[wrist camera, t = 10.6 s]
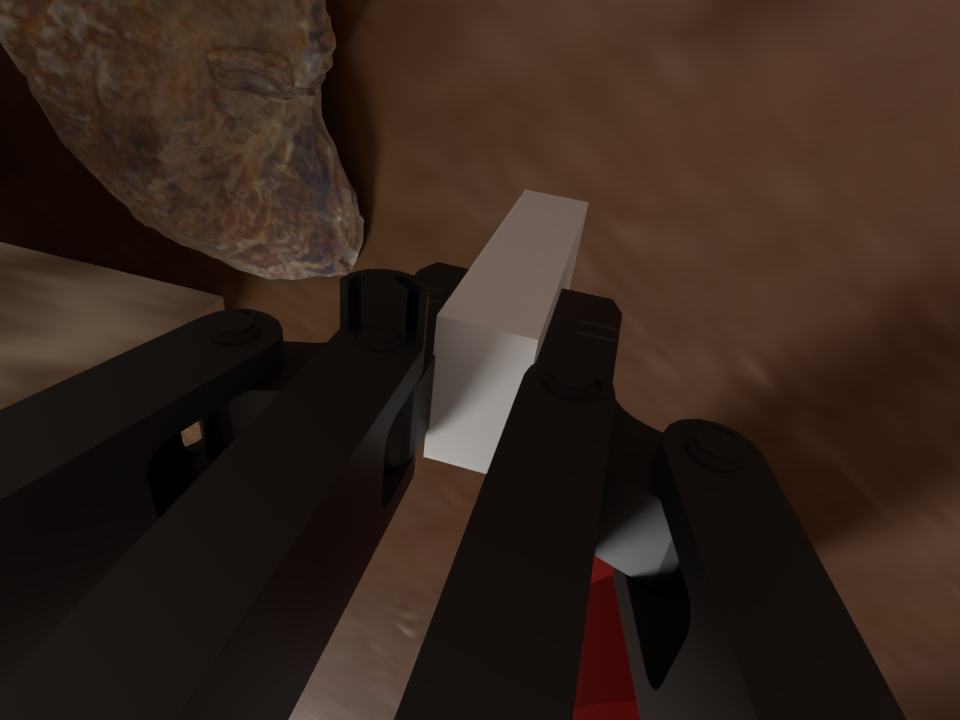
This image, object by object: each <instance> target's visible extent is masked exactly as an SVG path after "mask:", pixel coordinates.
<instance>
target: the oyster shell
mask: <svg viewBox="0 0 960 720" xmlns="http://www.w3.org/2000/svg"><path fill="white" fill-rule="evenodd" d="M0 42H1V44H2V46H3V47H4V49H5V50H6V52H7V53H8V55H9V56H10V58H11V59H12V61H13V62H14V63H15V65H16V66H17V68H18V69H19V71H20V72H21V73H22V74H24V75H25V76H26V79H27V83H28V86H29V89H30V92H31V94H32V95H33V96H34V98H35V99H36V100H37V101H38V103H39V105H40V106H41V108H42V110H43V111H44V113H45V115H46V116H47V118H48V120H49V121H50V123H51V125H52V126H53V128H54V130H55V132H56V134H57V135H58V137H59V139H60V140H61V141H62V143H63V144H64V145H65V146H66V147H67V148H68V149H69V150H70V152H71V153H72V154H73V155H74V156H75V157H76V158H77V159H78V160H79V161H80V163H81V164H82V165H83V166H84V167H85V168H86V169H87V170H88V171H89V172H90V173H91V174H92V175H94V176H95V177H96V178H97V179H98V180H99V181H100V182H101V184H102V185H103V186H104V187H105V188H106V189H107V190H108V191H109V192H110V193H111V194H112V195H113V196H114V197H115V198H116V199H118V200H119V201H120V202H121V203H123V204H124V205H126V206H127V208H128V210H129V211H130V212H131V214H132V215H133V216H134V218H135V219H136V220H138V221H139V222H141V223H142V224H144V225H145V226H147V227H152V228H155V229H156V230H157V231H158V232H159V233H160V234H162V235H163V236H165V237H167V238H169V239H172V240H173V241H175V242H177V243H178V244H180V245H183V246H186V247H189V248H191V249H194V250H197V251H200V252H202V253H204V254H206V255H207V256H209V257H211V258H217V259H219V260H221V261H222V262H224V263H226V264H228V265H229V266H231V267H233V268H235V269H237V270H240V271H244V272H247V273H251V274H255V275H257V276H260V277H263V278H265V279H288V280H296V279H305V278H310V277H315V276H325V277H331V276H336V275H347V274H349V273H350V272H351V269H352V268H353V266H354V264H355V263H356V261H357V259H358V258H357V257H358V254H359V251H360V249H361V246H362V243H363V226H364V219H363V218H362V216H361V215H360V213H359V208H358V204H357V196H356V193H355V191H354V190H353V188H352V186H351V184H350V182H349V180H348V178H347V176H346V174H345V172H344V170H343V167H342V165H341V162H340V160H339V157H338V153H337V149H336V146H335V144H334V142H333V140H332V138H331V137H330V135H329V133H328V131H327V128H326V126H325V123H324V120H323V118H322V108H321V84H322V83H323V81H324V79H325V78H326V72H327V71H328V70H330V68H331V67H332V65H333V58H332V53H333V52H334V50H335V48H336V39H335V34H334V31H333V30H332V28H331V17H330V16H329V14H328V13H327V11H326V2H325V0H0Z"/></svg>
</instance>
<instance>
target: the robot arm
mask: <svg viewBox="0 0 960 720" xmlns="http://www.w3.org/2000/svg"><path fill="white" fill-rule="evenodd" d="M588 204H589V202H584V201H579V200H574V199H569V198H564V197H559V196H555V195H550V194H545V193H540V192H535V191H530V190H525V191H524V192H523V194H522V195H521V196H520V198H519V199H518V201H517V202H516V204H515V205H514V206H513V208H512V209H511V211H510V212H509V214H508V215H507V216H506V218H505V219H504V221H503V222H502V223H501V225H500V226H499V228H498V229H497V231H496V232H495V233H494V235H493V236H492V238H491V239H490V241H489V242H488V243H487V245H486V246H485V248H484V249H483V251H482V252H481V253H480V255H479V256H478V258H477V259H476V261H475V262H474V263H473V265H472V266H471V268H470V269H466V268H461V267H457V266H453V265H448V264H444V263H439V262H437V263H434V264H432V265H430V266H427V267H425V268H422V269H420V270H419V271H418V272H417V273H416V274H415V275H414V276H413V275H410V274H407V273H404V272H401V271H396V270H388V269H365V270H361V271H357V272H352V273H350V274H348V275H346V276H344V277H343V278H341V279H340V329H339V330H338V331H337V332H336V333H335V334H334V336H333V337H332V338H331V339H330V340H329V341H328V342H327V343H307V342H288V341H283V329H282V327H281V325H280V323H279V321H278V320H277V319H275V318H274V317H272V316H271V315H269V314H266V313H263V312H259V311H256V310H251V309H243V308H234V309H230V310H223V311H217V312H214V313H211V314H208V315H205V316H202V317H200V318H197V319H195V320H193V321H191V322H189V323H187V324H184V325H182V326H180V327H178V328H176V329H174V330H171V331H169V332H167V333H165V334H163V335H161V336H159V337H156V338H154V339H152V340H150V341H148V342H146V343H143V344H141V345H139V346H137V347H135V348H133V349H130V350H128V351H126V352H124V353H122V354H120V355H118V356H115V357H113V358H111V359H109V360H107V361H105V362H102V363H100V364H98V365H96V366H94V367H92V368H89V369H87V370H85V371H83V372H81V373H79V374H76V375H74V376H72V377H70V378H68V379H66V380H64V381H61V382H59V383H57V384H55V385H53V386H51V387H48V388H46V389H44V390H42V391H40V392H38V393H35V394H33V395H31V396H29V397H27V398H25V399H23V400H20V401H18V402H16V403H14V404H12V405H10V406H7V407H5V408H3V409H1V410H0V720H288V719H289V717H290V715H291V713H292V711H293V709H294V707H295V705H296V703H297V702H298V700H299V698H300V696H301V694H302V692H303V690H304V688H305V686H306V684H307V682H308V680H309V678H310V676H311V674H312V672H313V670H314V669H315V667H316V665H317V663H318V661H319V659H320V657H321V655H322V653H323V651H324V649H325V647H326V645H327V643H328V641H329V639H330V637H331V635H332V634H333V632H334V630H335V628H336V626H337V624H338V622H339V620H340V618H341V616H342V614H343V612H344V610H345V608H346V606H347V604H348V602H349V601H350V599H351V597H352V595H353V593H354V591H355V589H356V587H357V585H358V583H359V581H360V579H361V577H362V575H363V573H364V571H365V569H366V567H367V566H368V564H369V562H370V560H371V558H372V556H373V554H374V552H375V550H376V548H377V546H378V544H379V542H380V540H381V538H382V536H383V534H384V533H385V531H386V529H387V527H388V525H389V523H390V521H391V519H392V517H393V515H394V513H395V511H396V509H397V507H398V505H399V503H400V501H401V499H402V498H403V496H404V494H405V492H406V490H407V488H408V486H409V484H410V482H411V480H412V478H413V474H414V469H415V460H416V451H417V449H418V447H419V446H420V444H421V442H422V440H423V438H424V436H425V434H426V437H425V447H424V457H427V458H431V459H434V460H438V461H442V462H445V463H449V464H452V465H456V466H460V467H463V468H467V469H470V470H474V471H478V472H481V473H485V474H486V476H485V479H484V482H483V484H482V487H481V490H480V492H479V495H478V498H477V500H476V503H475V506H474V508H473V511H472V514H471V516H470V519H469V522H468V524H467V527H466V530H465V532H464V535H463V538H462V540H461V543H460V546H459V548H458V551H457V553H456V556H455V559H454V561H453V564H452V567H451V569H450V572H449V575H448V577H447V580H446V583H445V585H444V588H443V591H442V593H441V596H440V599H439V601H438V604H437V607H436V609H435V612H434V615H433V617H432V620H431V623H430V625H429V628H428V631H427V633H426V636H425V639H424V641H423V644H422V646H421V649H420V652H419V654H418V657H417V660H416V662H415V665H414V668H413V670H412V673H411V676H410V678H409V681H408V684H407V686H406V689H405V692H404V694H403V697H402V700H401V702H400V705H399V708H398V710H397V713H396V716H395V718H394V720H573V714H574V706H575V699H576V691H577V684H578V676H579V668H580V661H581V653H582V646H583V638H584V631H585V623H586V616H587V608H588V600H589V593H590V585H591V578H592V570H593V563H594V555H595V556H596V557H598V558H600V559H601V560H603V561H605V562H606V563H608V564H610V565H611V566H613V567H614V571H613V579H614V585H615V590H616V595H617V601H618V606H619V611H620V616H621V622H622V627H623V632H624V637H625V643H626V648H627V653H628V658H629V664H630V669H631V674H632V679H633V685H634V690H635V695H636V701H637V706H638V711H639V716H640V720H906V718H905V716H904V714H903V712H902V711H901V709H900V707H899V705H898V703H897V701H896V700H895V698H894V696H893V694H892V692H891V690H890V688H889V687H888V685H887V683H886V681H885V679H884V677H883V676H882V674H881V672H880V670H879V668H878V666H877V664H876V663H875V661H874V659H873V657H872V655H871V653H870V652H869V650H868V648H867V646H866V644H865V642H864V640H863V639H862V637H861V635H860V633H859V631H858V629H857V628H856V626H855V624H854V622H853V620H852V618H851V616H850V615H849V613H848V611H847V609H846V607H845V605H844V603H843V602H842V600H841V598H840V596H839V594H838V592H837V591H836V589H835V587H834V585H833V583H832V581H831V579H830V578H829V576H828V574H827V572H826V570H825V568H824V567H823V565H822V563H821V561H820V559H819V557H818V555H817V554H816V552H815V550H814V548H813V546H812V544H811V543H810V541H809V539H808V537H807V535H806V533H805V531H804V530H803V528H802V526H801V524H800V522H799V520H798V519H797V517H796V515H795V513H794V511H793V509H792V507H791V506H790V504H789V502H788V500H787V498H786V496H785V495H784V493H783V491H782V489H781V487H780V485H779V483H778V482H777V480H776V478H775V476H774V474H773V472H772V471H771V469H770V467H769V465H768V463H767V461H766V459H765V458H764V456H763V455H762V454H761V453H760V451H759V450H758V449H757V448H756V446H755V445H754V444H753V443H752V442H750V441H749V440H748V439H746V438H745V437H744V436H742V435H741V434H739V433H738V432H736V431H734V430H732V429H730V428H728V427H725V426H724V425H721V424H719V423H714V422H710V421H705V420H701V419H682V420H680V421H677V422H675V423H672V424H669V426H668V427H667V429H666V430H665V431H664V433H662V432H660V431H658V430H656V429H654V428H652V427H650V426H648V425H646V424H644V423H642V422H640V421H639V420H637V419H635V418H634V417H632V416H631V415H630V414H629V413H627V412H626V411H625V410H624V409H623V408H622V407H621V406H620V404H619V403H618V402H617V401H616V399H615V391H614V386H613V385H612V383H613V376H614V369H615V361H616V354H617V347H618V340H619V333H620V325H621V318H622V313H621V312H620V310H619V309H618V307H617V305H616V304H615V302H614V301H613V300H612V299H608V298H603V297H599V296H595V295H590V294H586V293H581V292H577V291H572V290H569V288H570V284H571V279H572V275H573V270H574V266H575V261H576V257H577V252H578V248H579V244H580V239H581V235H582V230H583V226H584V221H585V217H586V212H587V208H588ZM198 421H199V424H200V430H201V436H202V439H200V440H199V441H197V442H196V443H193V444H191V445H188V446H186V447H185V446H184V444H183V441H182V436H181V431H183V430H185V429H186V428H188V427H189V426H191V425H193V424H194V423H196V422H198Z"/></svg>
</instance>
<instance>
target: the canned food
mask: <svg viewBox="0 0 960 720" xmlns="http://www.w3.org/2000/svg"><path fill="white" fill-rule="evenodd" d="M613 571H614V567H613V566H611V565H610V564H608V563H606V562H605V561H603V560H601V559H600V558H598V557H596V556H595V555H594V563H593V570H592V578H591V585H590V593H589V600H588V608H587V616H586V623H585V631H584V638H583V646H582V653H581V661H580V668H579V676H578V684H577V691H576V699H575V706H574V714H573V720H640V716H639V711H638V706H637V701H636V695H635V690H634V685H633V679H632V674H631V669H630V664H629V658H628V653H627V648H626V643H625V637H624V632H623V627H622V622H621V616H620V611H619V606H618V601H617V595H616V590H615V585H614V579H613Z"/></svg>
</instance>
